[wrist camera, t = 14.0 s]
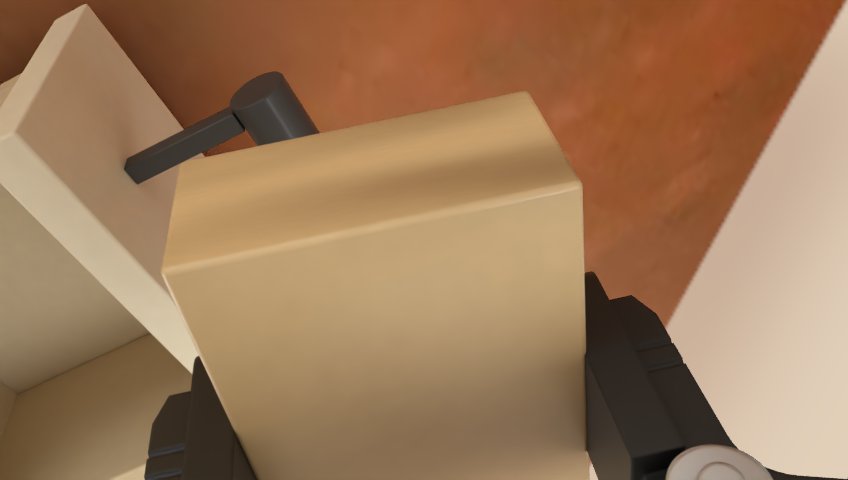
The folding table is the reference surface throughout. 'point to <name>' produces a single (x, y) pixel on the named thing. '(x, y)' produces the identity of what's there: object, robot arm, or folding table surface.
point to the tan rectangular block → (392, 297)
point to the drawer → (97, 250)
